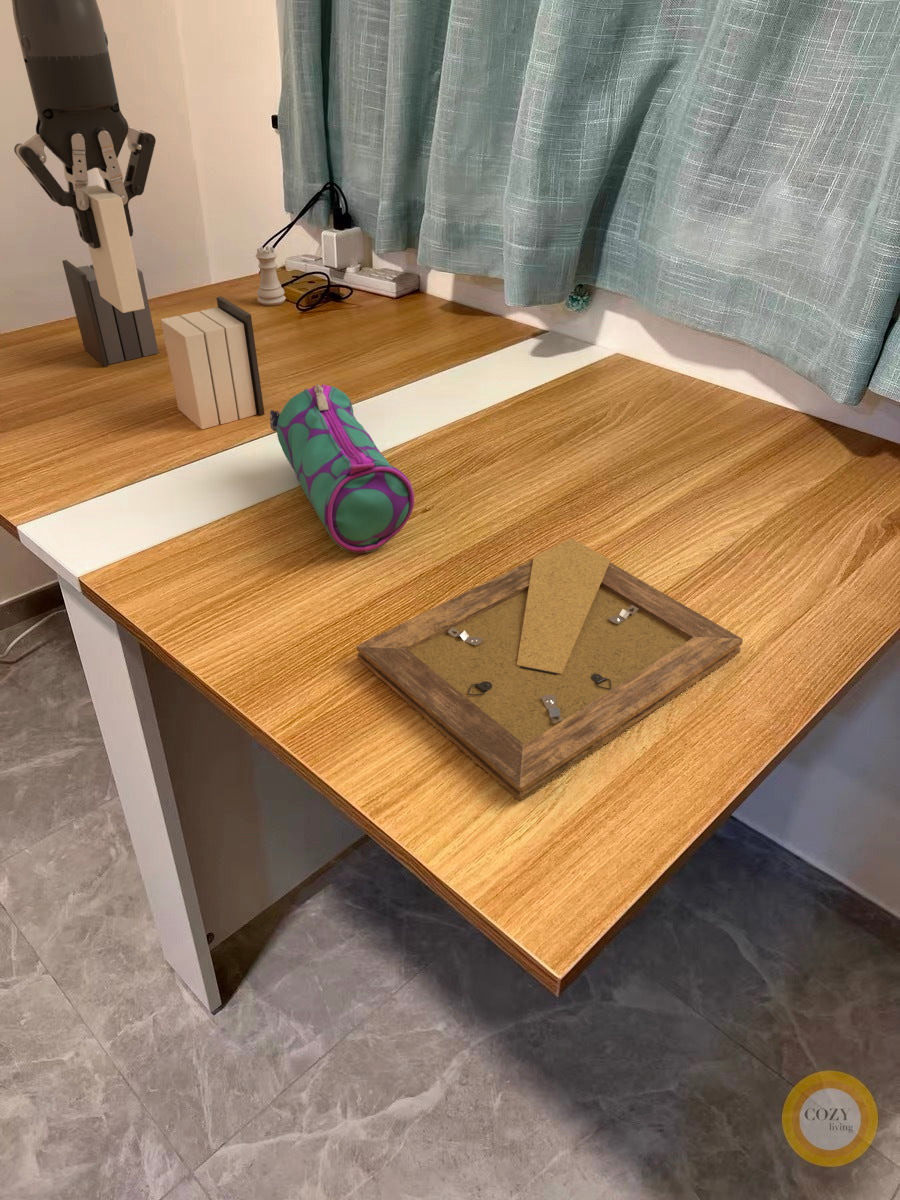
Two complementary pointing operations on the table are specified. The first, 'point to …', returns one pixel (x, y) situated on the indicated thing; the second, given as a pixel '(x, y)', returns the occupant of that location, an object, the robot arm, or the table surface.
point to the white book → (114, 252)
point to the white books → (214, 364)
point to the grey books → (109, 320)
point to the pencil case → (342, 470)
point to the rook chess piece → (269, 279)
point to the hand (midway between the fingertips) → (108, 243)
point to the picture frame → (546, 662)
